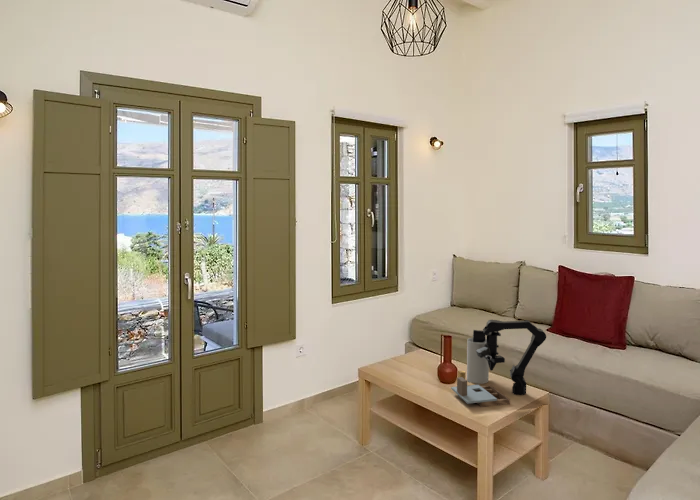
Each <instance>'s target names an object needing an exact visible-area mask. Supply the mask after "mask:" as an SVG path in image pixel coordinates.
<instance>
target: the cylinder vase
mask: <svg viewBox="0 0 700 500" xmlns="http://www.w3.org/2000/svg"><path fill="white" fill-rule="evenodd" d="M486 339H487V338H485V341H484V342H483V343H479V342H473V337H469V338H467V341H466V343H467V344H466V346H467V347H466V380H467V383H473V384H476V385H481V384H487V383H488V382H489V378H490V377H489V371H490V368H489V365H488V361H487V360H486V359H485V358H484V357H483V358H480V357H479V356H478V355H477V352H476V350H478V349H480V348H483V347H484V345H485V344H486Z"/></svg>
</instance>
